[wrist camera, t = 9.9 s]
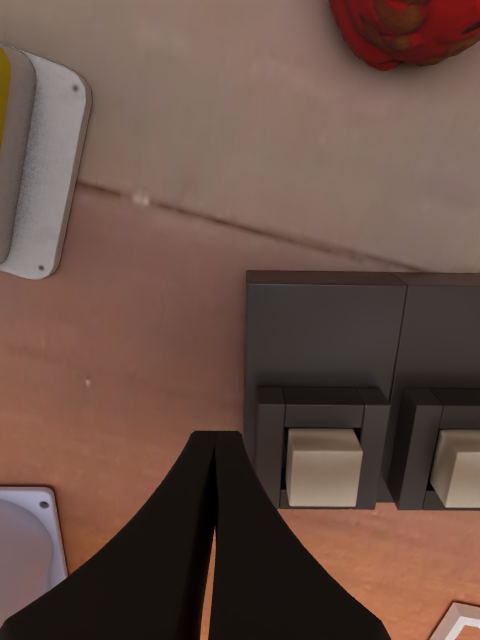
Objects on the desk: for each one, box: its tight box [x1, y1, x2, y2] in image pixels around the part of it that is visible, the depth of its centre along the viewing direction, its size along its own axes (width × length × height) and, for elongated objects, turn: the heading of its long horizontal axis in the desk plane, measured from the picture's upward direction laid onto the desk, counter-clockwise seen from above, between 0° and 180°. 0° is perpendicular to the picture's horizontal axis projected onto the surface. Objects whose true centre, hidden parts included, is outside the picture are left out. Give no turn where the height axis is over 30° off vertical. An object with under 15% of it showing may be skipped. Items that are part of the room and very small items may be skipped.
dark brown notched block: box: [376, 272, 480, 511], centre depth 21 cm, size 12×7×4 cm, turn 179°
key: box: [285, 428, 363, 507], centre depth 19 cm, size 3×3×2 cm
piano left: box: [243, 270, 407, 510], centre depth 21 cm, size 12×7×4 cm, turn 179°
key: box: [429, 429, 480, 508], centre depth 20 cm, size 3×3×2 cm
